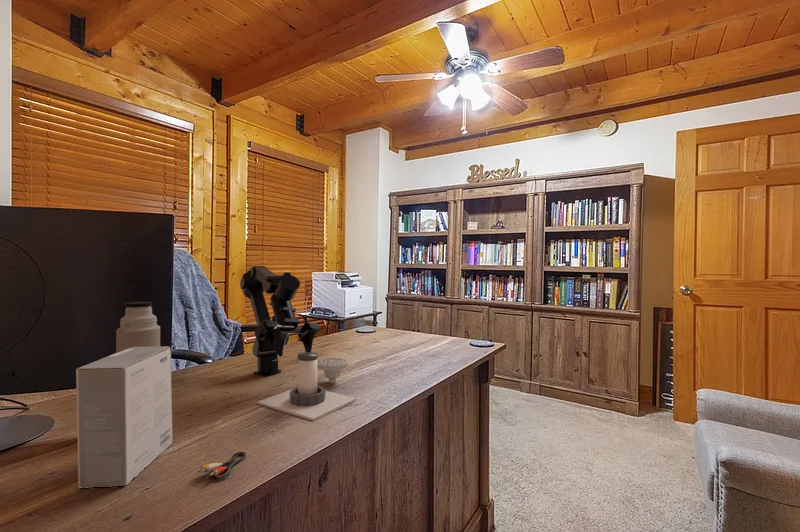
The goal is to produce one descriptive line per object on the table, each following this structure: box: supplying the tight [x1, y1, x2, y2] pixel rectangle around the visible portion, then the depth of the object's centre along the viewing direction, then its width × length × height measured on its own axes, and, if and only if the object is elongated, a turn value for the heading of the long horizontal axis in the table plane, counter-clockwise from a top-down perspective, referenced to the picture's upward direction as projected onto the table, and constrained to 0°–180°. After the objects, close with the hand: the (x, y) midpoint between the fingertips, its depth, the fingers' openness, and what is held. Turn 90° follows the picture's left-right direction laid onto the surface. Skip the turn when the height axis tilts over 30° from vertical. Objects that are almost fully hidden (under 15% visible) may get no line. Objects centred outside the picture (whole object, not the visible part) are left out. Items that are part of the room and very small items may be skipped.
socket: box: [257, 385, 357, 422], centre depth 102 cm, size 20×16×3 cm
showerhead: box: [317, 357, 349, 384], centre depth 118 cm, size 9×7×10 cm
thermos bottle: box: [115, 301, 161, 353], centre depth 85 cm, size 8×8×28 cm
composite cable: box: [195, 451, 247, 482], centre depth 69 cm, size 10×5×2 cm, turn 157°
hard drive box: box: [75, 345, 173, 488], centre depth 70 cm, size 16×8×20 cm, turn 5°
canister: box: [297, 351, 319, 395], centre depth 102 cm, size 5×5×12 cm
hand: (295, 355), depth 109 cm, fingers open, 9 cm apart
